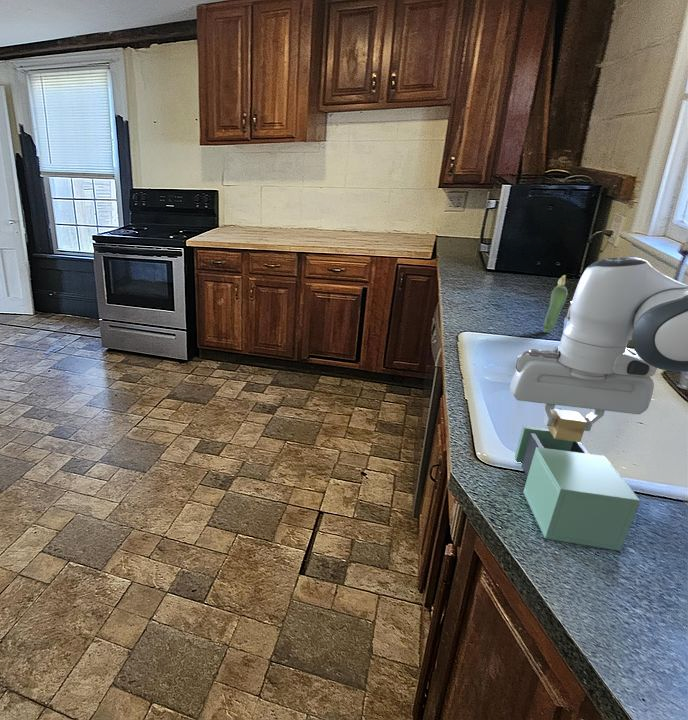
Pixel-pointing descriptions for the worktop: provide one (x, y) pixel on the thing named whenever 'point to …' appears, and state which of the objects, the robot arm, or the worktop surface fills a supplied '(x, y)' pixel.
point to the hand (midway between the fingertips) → (566, 427)
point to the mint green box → (580, 498)
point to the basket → (541, 445)
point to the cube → (568, 425)
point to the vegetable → (555, 304)
